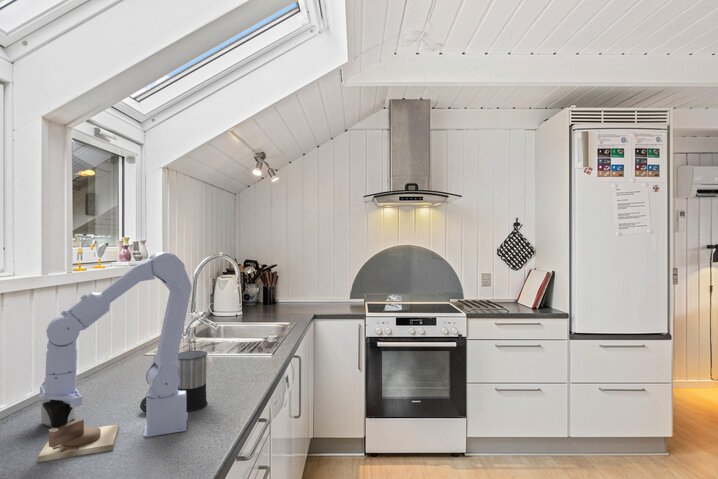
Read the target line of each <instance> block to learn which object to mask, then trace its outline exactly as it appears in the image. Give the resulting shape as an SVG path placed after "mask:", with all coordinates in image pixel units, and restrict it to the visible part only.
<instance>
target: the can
mask: <svg viewBox="0 0 718 479" xmlns="http://www.w3.org/2000/svg"><path fill="white" fill-rule="evenodd" d="M41 386H45V378H44V381H43V382H42V383H41ZM50 400H51V399H45V400H41V399H40V402H41V403H40V404H41V406H40V407H41V408H40V410H41V412H40V414H41V416H40V420H41V421H40V422H41V423H42V424H43V425H45V427H51V422H50V418H49V416H48V413H47V411H46V410H45V408H44V407H43V403H45V402H49V401H50ZM76 416H77V407H73V408H72V410H71V412H70V414H69V417H68V421H67V423H70V422H72V421H73V420H74V418H75V417H76Z"/></svg>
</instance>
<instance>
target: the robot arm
mask: <svg viewBox="0 0 718 479" xmlns="http://www.w3.org/2000/svg"><path fill="white" fill-rule="evenodd" d="M156 278H157V279H159V281H161V282H162V283H163V285H164V286H166V288H167V289H168V290H169V294H168V299H167V303H166V308H165V312H164V318H163V321H162V327H161V332H160V335H159V341H158V345H157V350H156V353H155V355H154V356H153V359H152V363H151V364H150V366H149V368H148V369H147V371H146V372H145V381H146V383H147V384H148V385H149V388H148V390H147V392H146V396H145V397H146V404H145V406H146V413H145V414H146V415H145V416H146V419H145V420H146V422H145V424H144V431H143V432H144V433H143V438H149V437H155V436H156V437H157V436H161V435H168V434H174V433H181V432H186V431H187V421H188V419H189V417H188V416H189V415H188V414H189V413H188V412H189V411H186V391H185V390H184V391H179V390H178V386H179V383H180V380H179V376H178V368H179V363H178V353H180V351H179V350H180V347H181V342H182V338H183V337H182V336H183V332H184V328H185V327H184V326H185V321H186V318H187V312H188V307H189V304H190V297H191V294H192V286H193V284H192V283H191V280H190V278H189V275H188V272H187V271H186V266H185V263H184V262H183V260H181V259H180V257H178V256H177V255H176V254H174V253H171V252H163V251H162V252H155V253H153V254H151V255H150V256H149V257H148V258H145V259H143V260H142V261H140V262H139V263H137V264H136V265H134V266H133V267H131V268H130V269H129V270H127V271H126V272H125V273H124V274H123V275H122V276H120V277H118V279H117V280H115V281H114V282H112V283H111V284H110V285H109V286H107V288H105V289H104V290H103V291H101V292H91V293H89V294H88V295H87V294H83V295H81V296H80V301H78V302H77V303H76V304H74V305H73V306H71V307H70V308H69V309H68V310H66V309H64V310H63V311H61V312H60V315H62V316H57V317H55V318H53V319H52V320H50V322H49V323H48V325H47V328H46V331H45V332H46V337H47V339H48V342H47V344H46V348H47V351H46V353H45V357H46V358H45V376H44V377H45V378H44V379H45V380H44V381H45V386H39V395H38V399H39V400H40V401H41V400H45V399H51V400H50V401H49V402H45V403H43V407H44V408H45V410H46V411H47V413H48V416H49V418H50V422H51V426H50V429H51V428H57V427H60V426H62V425H65V424H67V421H68V417H69V414H70V412H71V410H72V408H73V407H76V408H77V407H80V406H82V405H83V396H82V395H81V394H80V393H79V391H78V388H77V364H78V358H77V357H78V348H77V339H78V337H79V336H80V332H81V331H84V330H87V328H89V327H91V325H93V324H94V323H95V322H97V321H98V320H99V319H101V318H102V317H103V316H105V315H106V314H107V313H109V312H110V309H111V308H110V307H111V303H112V302H114V301H116V299H118V298H119V297H121V296H122V295H124V294H125V293H126V292H128V291H129V290H131V289H132V288H133V287H134V286H136V285H137V284H139V283H141V282H144V281H152V280H155V279H156Z"/></svg>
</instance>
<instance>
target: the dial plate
mask: <svg viewBox="0 0 718 479" xmlns="http://www.w3.org/2000/svg"><path fill="white" fill-rule="evenodd" d="M97 428H100V430H101V436H100V438H98V439H97V440H95V441H94V442H91V443H88V444H85V445H81V446H74V447H67V446H63V445H62V444H61V445H58V446H56V447H54V448H52V447H49V439H48V440H47V441H46V443H45V445H44V446H43V448H42V450H40V453H39V454H38V456H37V463H41V462H47V461H54V460H60V459H65V458H72V457H77V456H85V455H89V454H94V453H95V454H96V453H101V452H107V451H113V450H114V449H115V445H116V441H117V437H118V435H119V430H120V424H119V423H117V424H110V425H105V426H103V425H102V426H97Z"/></svg>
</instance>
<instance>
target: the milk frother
mask: <svg viewBox="0 0 718 479" xmlns="http://www.w3.org/2000/svg"><path fill="white" fill-rule="evenodd" d="M207 356H208V352H207V351H205V350H186V351H185V350H184V351H179V352H178V363H179V368H178V376H179V380H180V383H179V386H178V390H179V391H184V390H185V391H186V412H191V411H192V412H193V411H197V410H199V409H202V408H204V407H206V406H207V405H208V400H207ZM139 409H140V410H141V411H142V412H143V413H145V414H146V396H145V397H144V398H142V400H141V401H140V405H139Z"/></svg>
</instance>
